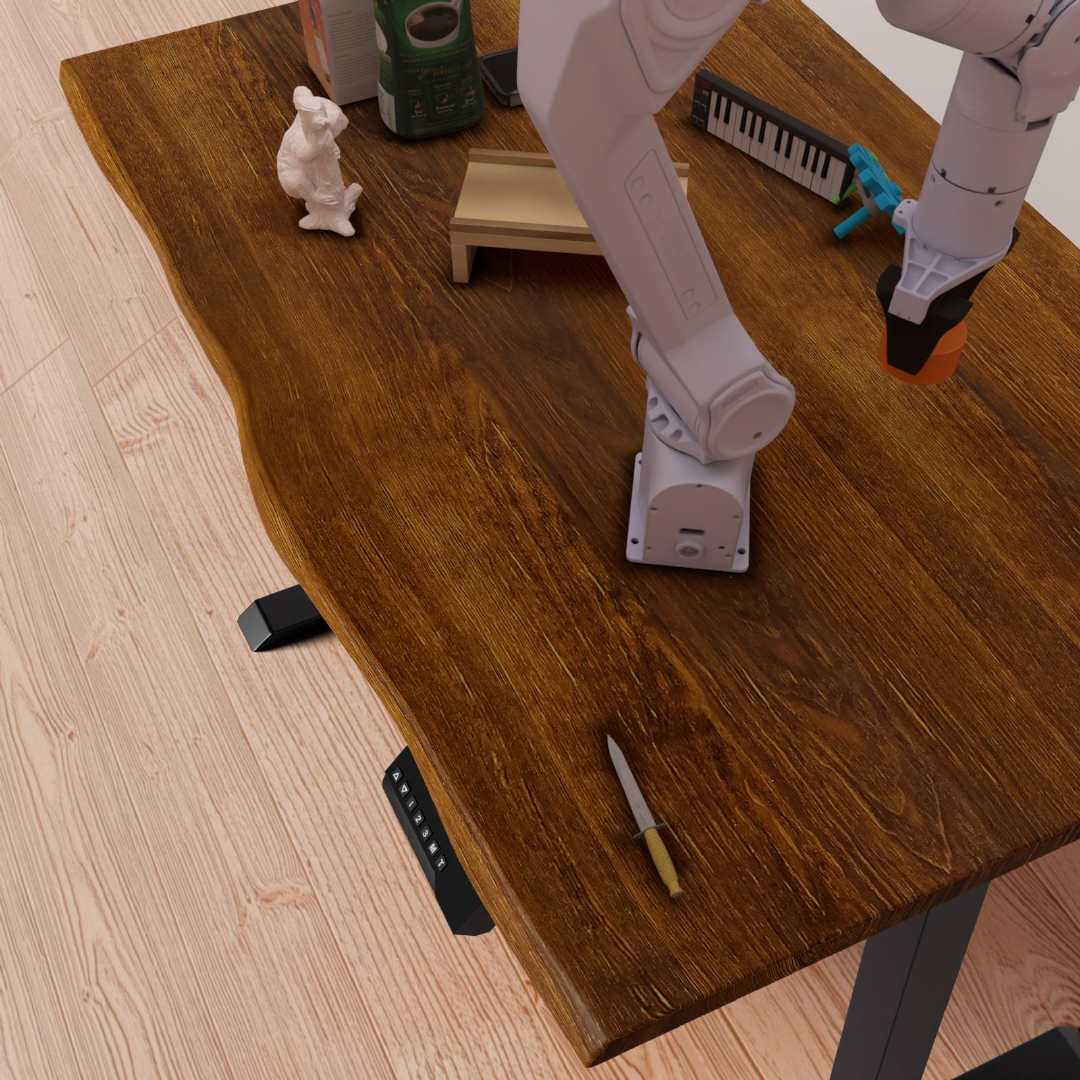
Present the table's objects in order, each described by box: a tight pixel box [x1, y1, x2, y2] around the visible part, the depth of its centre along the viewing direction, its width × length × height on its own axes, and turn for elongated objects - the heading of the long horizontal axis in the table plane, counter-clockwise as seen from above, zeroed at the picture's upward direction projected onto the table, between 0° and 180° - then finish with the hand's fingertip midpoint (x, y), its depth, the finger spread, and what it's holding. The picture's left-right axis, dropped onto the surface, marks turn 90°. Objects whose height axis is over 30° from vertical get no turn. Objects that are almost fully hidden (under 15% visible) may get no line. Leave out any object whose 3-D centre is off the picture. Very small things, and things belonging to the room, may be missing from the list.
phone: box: [478, 46, 523, 107], centre depth 112 cm, size 8×1×15 cm
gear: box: [832, 142, 906, 240], centre depth 96 cm, size 11×6×10 cm
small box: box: [297, 0, 378, 107], centre depth 108 cm, size 8×6×10 cm
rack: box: [448, 147, 690, 284], centre depth 94 cm, size 10×18×6 cm, turn 83°
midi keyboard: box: [689, 68, 857, 209], centre depth 102 cm, size 18×1×5 cm, turn 42°
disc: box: [877, 319, 968, 386], centre depth 77 cm, size 5×5×3 cm
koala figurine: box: [276, 85, 364, 237], centre depth 94 cm, size 8×7×12 cm
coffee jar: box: [373, 0, 486, 140], centre depth 101 cm, size 10×8×19 cm
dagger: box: [606, 733, 684, 900], centre depth 65 cm, size 11×1×2 cm
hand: (921, 341), depth 77 cm, fingers closed on disc, 5 cm apart
